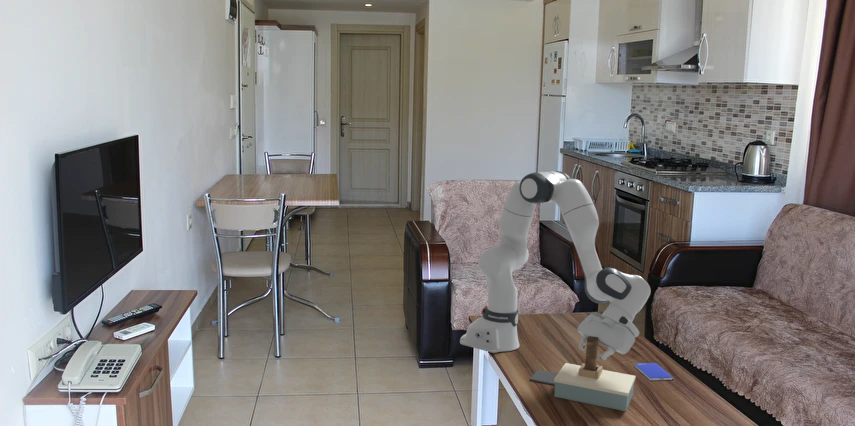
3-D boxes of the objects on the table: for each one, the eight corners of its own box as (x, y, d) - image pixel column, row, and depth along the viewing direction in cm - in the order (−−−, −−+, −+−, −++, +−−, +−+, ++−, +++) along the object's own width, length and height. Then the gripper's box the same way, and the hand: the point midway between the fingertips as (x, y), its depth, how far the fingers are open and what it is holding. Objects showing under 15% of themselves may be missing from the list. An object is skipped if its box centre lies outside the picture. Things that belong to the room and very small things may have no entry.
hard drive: (634, 363, 244) (650, 377, 232) (656, 362, 245) (673, 376, 233) (634, 367, 244) (650, 382, 232) (656, 366, 245) (672, 381, 233)
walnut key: (584, 374, 220) (586, 338, 218) (586, 371, 223) (588, 335, 221) (594, 376, 219) (596, 340, 217) (596, 373, 222) (598, 337, 219)
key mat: (529, 380, 229) (530, 378, 229) (537, 370, 238) (537, 369, 237) (556, 385, 226) (556, 384, 226) (563, 375, 234) (563, 374, 234)
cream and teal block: (553, 396, 217) (554, 372, 216) (564, 379, 230) (565, 357, 229) (626, 411, 208) (628, 386, 207) (634, 393, 221) (636, 369, 220)
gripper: (588, 305, 230) (564, 337, 227) (634, 323, 213) (608, 359, 209) (597, 316, 233) (573, 348, 230) (643, 335, 215) (618, 370, 212)
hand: (590, 353), depth 219 cm, fingers open, 8 cm apart
